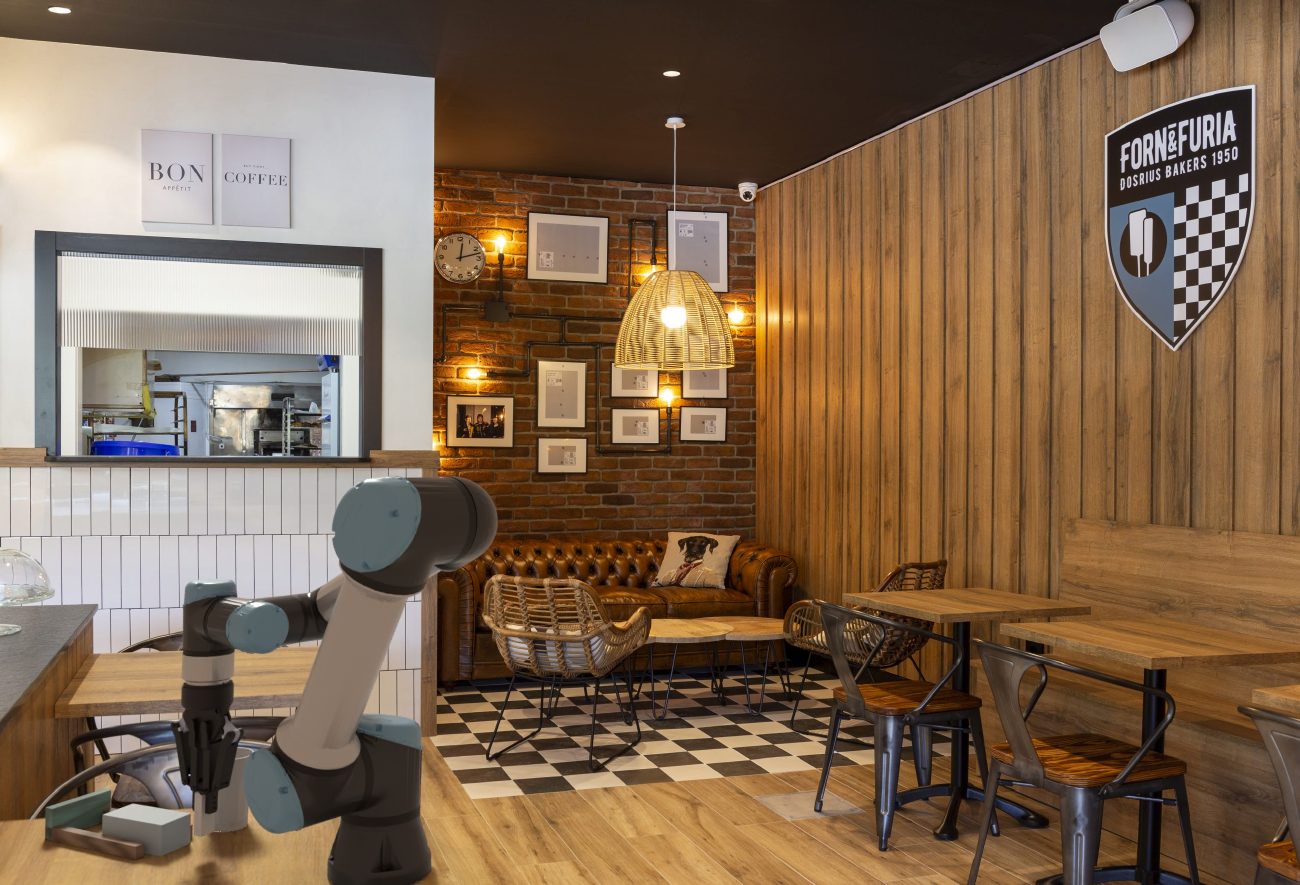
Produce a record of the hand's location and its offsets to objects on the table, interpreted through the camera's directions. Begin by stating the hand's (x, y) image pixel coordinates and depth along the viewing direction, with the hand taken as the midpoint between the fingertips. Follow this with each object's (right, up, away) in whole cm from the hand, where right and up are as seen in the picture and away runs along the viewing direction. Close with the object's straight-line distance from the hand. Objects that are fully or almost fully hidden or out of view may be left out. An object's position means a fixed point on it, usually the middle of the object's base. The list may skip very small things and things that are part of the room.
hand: (204, 833), depth 168 cm
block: (-11, -4, +5) cm, 13 cm away
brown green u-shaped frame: (-17, -3, +7) cm, 18 cm away
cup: (-2, -4, +14) cm, 14 cm away
